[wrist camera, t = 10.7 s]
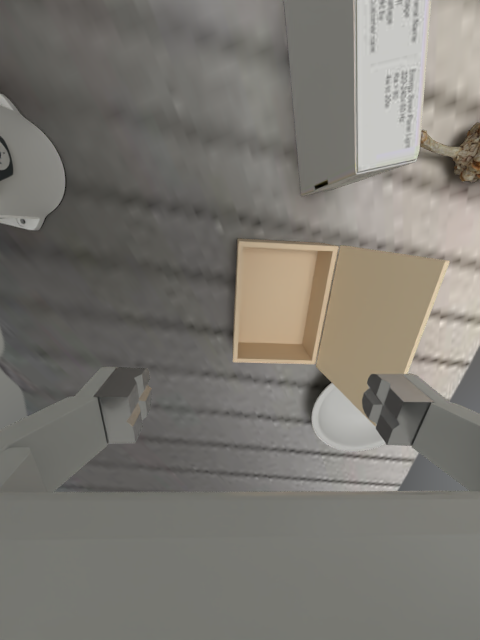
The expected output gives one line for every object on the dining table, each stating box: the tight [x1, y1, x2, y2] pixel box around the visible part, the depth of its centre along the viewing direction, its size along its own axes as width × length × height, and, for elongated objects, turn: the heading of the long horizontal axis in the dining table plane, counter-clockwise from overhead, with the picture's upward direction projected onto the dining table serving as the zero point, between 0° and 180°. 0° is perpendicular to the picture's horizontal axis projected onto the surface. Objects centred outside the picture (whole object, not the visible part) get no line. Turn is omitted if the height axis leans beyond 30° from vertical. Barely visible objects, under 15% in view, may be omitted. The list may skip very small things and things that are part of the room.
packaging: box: [284, 0, 431, 196], centre depth 27 cm, size 30×6×20 cm, turn 11°
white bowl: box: [311, 383, 386, 452], centre depth 56 cm, size 24×24×7 cm
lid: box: [316, 245, 450, 427], centre depth 34 cm, size 16×22×1 cm
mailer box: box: [233, 238, 339, 364], centre depth 45 cm, size 16×22×8 cm
